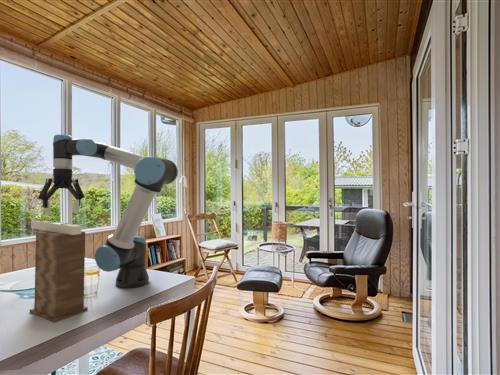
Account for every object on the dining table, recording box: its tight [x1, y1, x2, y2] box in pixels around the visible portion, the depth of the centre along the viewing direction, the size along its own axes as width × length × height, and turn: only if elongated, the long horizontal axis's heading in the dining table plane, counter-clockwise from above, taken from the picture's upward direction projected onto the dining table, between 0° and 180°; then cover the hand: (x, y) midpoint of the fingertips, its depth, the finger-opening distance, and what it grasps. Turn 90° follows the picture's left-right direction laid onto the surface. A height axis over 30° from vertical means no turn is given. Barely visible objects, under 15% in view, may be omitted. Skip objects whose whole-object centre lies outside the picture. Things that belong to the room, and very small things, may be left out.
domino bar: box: [30, 219, 82, 235], centre depth 112 cm, size 28×3×3 cm, turn 62°
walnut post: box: [29, 230, 89, 323], centre depth 110 cm, size 16×12×30 cm
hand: (62, 214), depth 136 cm, fingers open, 13 cm apart
